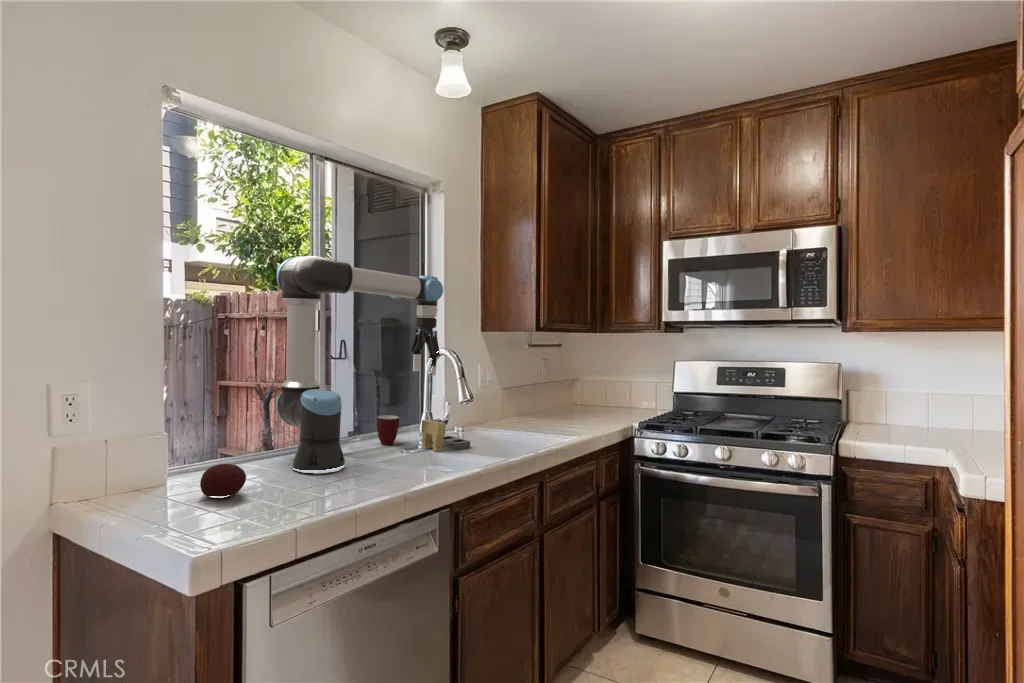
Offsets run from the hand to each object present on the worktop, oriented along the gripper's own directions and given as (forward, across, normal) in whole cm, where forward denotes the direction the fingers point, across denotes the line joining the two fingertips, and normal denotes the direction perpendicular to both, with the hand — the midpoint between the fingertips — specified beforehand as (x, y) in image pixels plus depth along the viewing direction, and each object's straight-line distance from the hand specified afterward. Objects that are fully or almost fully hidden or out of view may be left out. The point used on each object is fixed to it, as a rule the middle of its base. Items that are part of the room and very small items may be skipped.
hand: (424, 373), depth 219 cm
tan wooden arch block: (+26, -13, +1) cm, 29 cm away
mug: (+26, +2, +13) cm, 29 cm away
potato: (+26, -40, +73) cm, 87 cm away
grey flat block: (+26, -11, -8) cm, 29 cm away
